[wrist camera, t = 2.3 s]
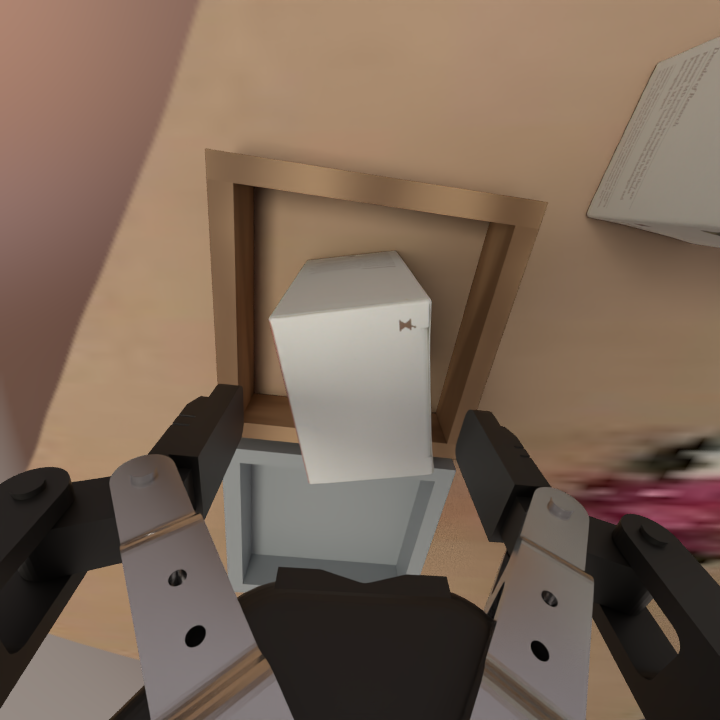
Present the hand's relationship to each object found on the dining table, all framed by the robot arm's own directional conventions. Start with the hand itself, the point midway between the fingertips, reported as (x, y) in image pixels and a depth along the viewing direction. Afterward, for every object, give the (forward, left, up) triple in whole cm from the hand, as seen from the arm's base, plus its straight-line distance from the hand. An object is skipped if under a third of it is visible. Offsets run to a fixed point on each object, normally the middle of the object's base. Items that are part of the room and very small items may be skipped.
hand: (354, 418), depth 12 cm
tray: (0, +17, -11) cm, 20 cm away
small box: (0, 0, -11) cm, 11 cm away
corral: (0, 0, -11) cm, 11 cm away
